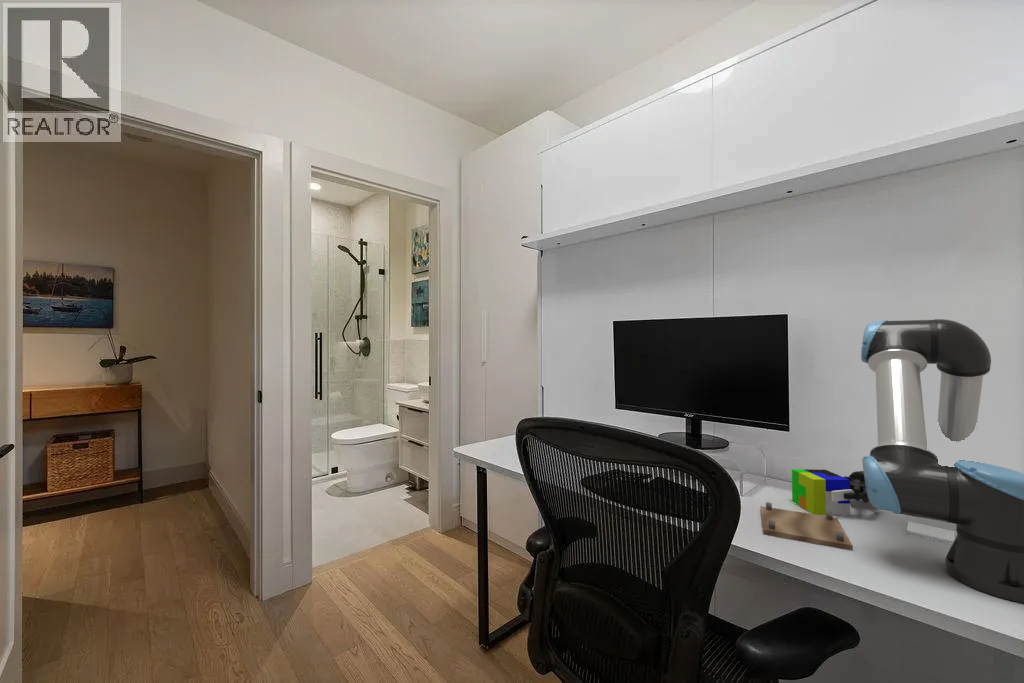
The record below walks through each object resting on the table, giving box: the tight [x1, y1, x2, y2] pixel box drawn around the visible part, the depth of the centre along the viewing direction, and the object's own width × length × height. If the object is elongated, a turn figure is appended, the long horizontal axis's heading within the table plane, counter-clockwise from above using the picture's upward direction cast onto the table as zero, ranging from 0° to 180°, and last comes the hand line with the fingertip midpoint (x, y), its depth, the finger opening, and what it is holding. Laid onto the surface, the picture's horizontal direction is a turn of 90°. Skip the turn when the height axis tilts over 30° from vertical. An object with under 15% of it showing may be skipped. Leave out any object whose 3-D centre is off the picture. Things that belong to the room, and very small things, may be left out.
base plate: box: [760, 501, 854, 551], centre depth 110 cm, size 18×18×3 cm
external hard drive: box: [906, 521, 957, 545], centre depth 106 cm, size 2×8×12 cm
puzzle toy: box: [791, 468, 851, 516], centre depth 124 cm, size 10×10×10 cm
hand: (811, 488), depth 123 cm, fingers closed on puzzle toy, 12 cm apart
